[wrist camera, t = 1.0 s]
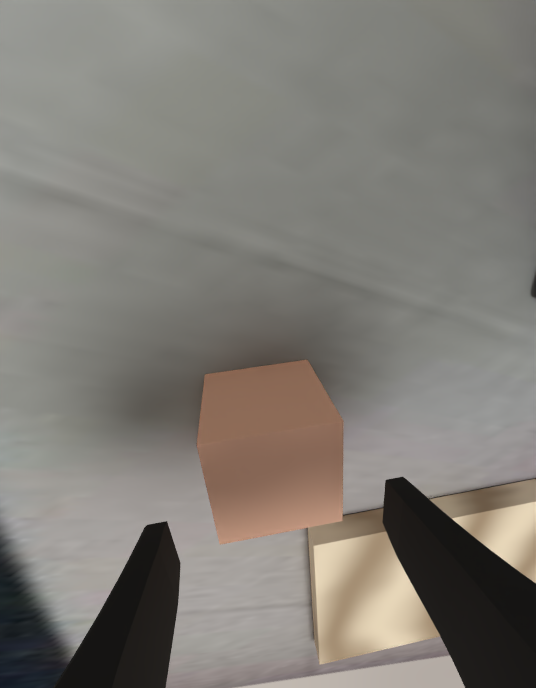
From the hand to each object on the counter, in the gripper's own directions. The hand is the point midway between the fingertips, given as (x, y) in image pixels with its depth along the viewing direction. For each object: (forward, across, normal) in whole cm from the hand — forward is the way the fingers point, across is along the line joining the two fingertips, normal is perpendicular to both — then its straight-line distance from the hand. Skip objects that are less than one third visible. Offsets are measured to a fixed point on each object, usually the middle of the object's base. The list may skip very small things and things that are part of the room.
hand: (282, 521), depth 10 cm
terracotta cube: (+6, 0, 0) cm, 6 cm away
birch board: (+6, -12, +16) cm, 21 cm away
